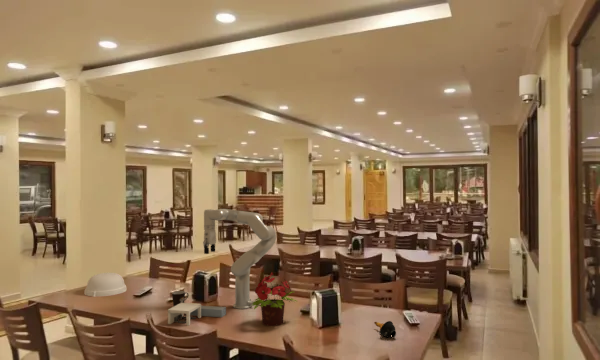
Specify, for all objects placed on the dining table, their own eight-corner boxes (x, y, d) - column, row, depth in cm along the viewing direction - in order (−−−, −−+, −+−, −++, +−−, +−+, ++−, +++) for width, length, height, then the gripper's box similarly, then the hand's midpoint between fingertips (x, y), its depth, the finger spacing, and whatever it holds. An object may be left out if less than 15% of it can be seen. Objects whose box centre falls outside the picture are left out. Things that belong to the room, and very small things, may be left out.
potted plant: (267, 314, 275) (267, 266, 276) (304, 320, 262) (304, 270, 262) (237, 327, 250) (237, 274, 250) (277, 335, 236) (276, 279, 237)
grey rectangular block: (225, 314, 275) (225, 307, 275) (221, 317, 269) (221, 309, 269) (191, 311, 281) (191, 304, 281) (186, 314, 275) (186, 307, 275)
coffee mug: (173, 310, 286) (173, 294, 286) (170, 306, 293) (170, 291, 293) (191, 307, 291) (191, 292, 291) (188, 304, 299) (188, 289, 299)
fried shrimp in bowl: (386, 332, 225) (364, 313, 240) (388, 347, 230) (366, 328, 245) (399, 323, 229) (377, 305, 243) (401, 338, 234) (379, 319, 248)
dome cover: (100, 286, 355) (100, 269, 355) (134, 287, 351) (134, 270, 351) (74, 296, 324) (74, 277, 324) (112, 297, 319) (112, 278, 320)
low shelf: (201, 317, 269) (201, 303, 269) (188, 325, 254) (188, 311, 254) (181, 315, 272) (181, 302, 272) (167, 323, 257) (167, 309, 257)
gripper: (209, 228, 288) (209, 254, 288) (220, 226, 305) (220, 251, 305) (198, 228, 290) (198, 254, 290) (210, 226, 307) (210, 250, 307)
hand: (209, 252), depth 297 cm, fingers open, 9 cm apart
